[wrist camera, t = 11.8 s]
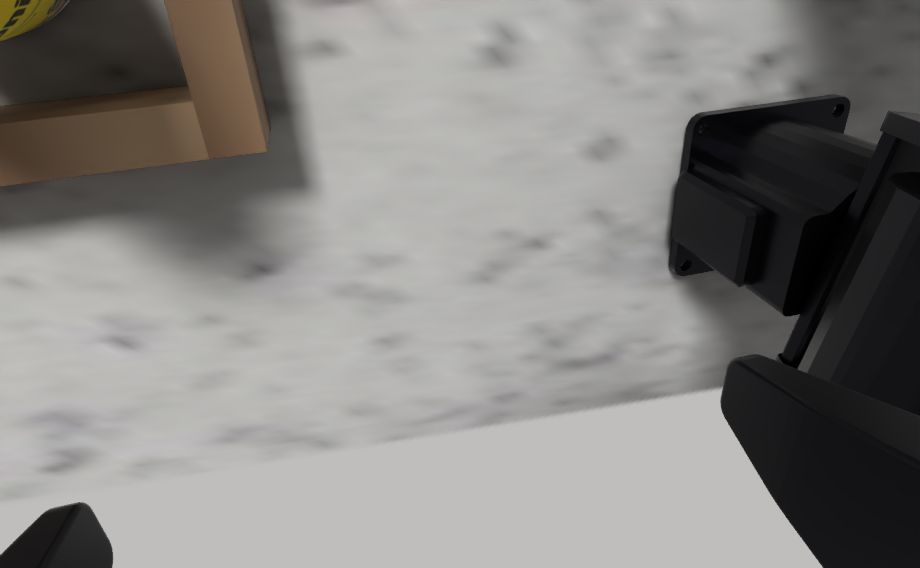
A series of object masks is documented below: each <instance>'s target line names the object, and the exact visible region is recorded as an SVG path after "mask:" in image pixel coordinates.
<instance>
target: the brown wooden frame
mask: <svg viewBox="0 0 920 568" xmlns="http://www.w3.org/2000/svg"><path fill="white" fill-rule="evenodd" d="M164 3H165V6H166V10H167V13H168V17H169V20H170V24H171V27H172V31H173V34H174V38H175V41H176V45H177V48H178V52H179V55H180V59H181V62H182V66H183V69H184V73H185V76H186V80H187V83H188V86H181V87H172V88H163V89H154V90H144V91H135V92H126V93H117V94H108V95H98V96H89V97H80V98H71V99H62V100H53V101H43V102H34V103H25V104H16V105H7V106H0V186H8V185H15V184H23V183H31V182H39V181H46V180H54V179H62V178H69V177H77V176H85V175H92V174H100V173H108V172H115V171H123V170H131V169H138V168H146V167H154V166H162V165H169V164H177V163H185V162H192V161H200V160H208V159H215V158H223V157H231V156H238V155H246V154H254V153H261V152H267V149H268V142H269V136H270V129H271V128H270V124H269V119H268V115H267V111H266V106H265V102H264V97H263V93H262V89H261V84H260V80H259V75H258V71H257V67H256V62H255V58H254V53H253V49H252V44H251V40H250V36H249V31H248V27H247V22H246V18H245V14H244V9H243V5H242V0H164Z"/></svg>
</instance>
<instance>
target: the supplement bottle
mask: <svg viewBox="0 0 920 568" xmlns="http://www.w3.org/2000/svg"><path fill="white" fill-rule="evenodd" d="M69 1H70V0H0V41H3V40H6V39H9V38H11V37H14V36H17V35H20V34H23V33H25V32H28V31H31V30H33V29H35V28H37V27H39V26H41V25H43V24H45V23H46V22H48V21H49V20H51V19H52V18H53V17H55V16H56V15H57V14H58V13H59V12H60V11H61V10H62V9H63V8H64V7H65V6H66V5H67V4H68V2H69Z"/></svg>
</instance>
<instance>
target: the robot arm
mask: <svg viewBox="0 0 920 568" xmlns="http://www.w3.org/2000/svg"><path fill="white" fill-rule="evenodd" d="M835 106H836V109H835V111H834V112H833V113H832V111H833V109H834V107H835ZM849 110H850V101H849V99H848V98H846V97H843V96H839V95H827V96H820V97H812V98H805V99H798V100H790V101H783V102H776V103H768V104H761V105H753V106H746V107H739V108H731V109H724V110H717V111H709V112H702V113H698V114H696V115H695V116H693V117H692V118H691V119H690V121H689V122H688V125H687V129H686V137H685V145H684V152H683V160H682V168H681V175H680V176H679V179H678V186H677V194H676V202H675V209H674V217H673V225H672V233H671V235H672V237H673V238H672V246H671V254H670V262H669V264H670V268H671V270H672V271H674V272H675V273H676V274H677V275H679V276H687V275H692V274H698V273H703V272H708V271H714V270H716V271H717V272H718V273H720V274H721V275H722V276H724V277H725V278H726V279H728V280H729V281H730V282H732V283H733V284H734V285H735V286H738V287H741V286H745V287H746V288H748V289H749V290H750V291H752V292H753V293H754V294H756V295H757V296H758V297H760V298H761V299H762V300H764V301H765V302H766V303H768V304H769V305H771V306H772V307H773V308H775V309H776V310H777V311H779V312H780V313H781V314H783V315H784V316H793V315H798V314H800V316H799V318H798V320H797V322H796V324H795V327H794V329H793V331H792V333H791V335H790V338H789V340H788V342H787V344H786V346H785V349H784V351H783V353H780V354H778V356H777V358H776V361H775V360H772V359H769V358H767V357H764V356H761V355H749V356H744V357H739V358H735V359H733V360H731V361H730V363H729V364H728V366H727V370H726V375H725V380H724V385H723V390H722V395H721V409H722V412H723V414H724V417H725V419H726V420H727V422H728V424H729V425H730V427H731V429H732V430H733V432H734V434H735V436H736V437H737V439H738V441H739V442H740V444H741V445H742V447H743V449H744V451H745V452H746V454H747V456H748V457H749V459H750V461H751V462H752V464H753V466H754V467H755V469H756V471H757V472H758V474H759V476H760V477H761V479H762V480H763V483H764V484H765V486H766V488H767V489H768V491H769V492H770V494H771V495H772V497H773V499H774V500H775V502H776V503H777V505H778V506H779V508H780V509H781V510H782V512H783V513H784V515H785V516H786V518H787V519H788V520H789V522H790V523H791V525H792V526H793V527H794V529H795V530H796V531H797V533H798V534H799V535H800V537H801V538H802V539H803V541H804V542H805V544H806V545H807V546H808V547H809V549H810V550H811V552H812V553H813V554H814V556H815V557H816V559H817V560H818V561H819V563H820V564H821V565H822V567H823V568H920V114H915V113H906V112H896V111H888V113H887V115H886V118H885V120H884V122H883V124H882V126H881V129H880V131H883V134H882V136H881V138H880V140H879V142H878V145H876V144H873V143H870V142H867V141H864V140H861V139H858V138H855V137H852V136H849V135H846V134H843V133H844V129H845V126H846V122H847V118H848V114H849ZM703 123H705V125H706V126H705V128H704V130H703V131H702V132H701V133H699V129H700V126H701V125H702V124H703ZM684 260H686V262H685V263H684V264H683V265H682V266H680V265H681V263H682V262H683V261H684ZM112 564H113V552H112V546H111V543H110V541H109V539H108V537H107V535H106V534H105V532H104V530H103V528H102V527H101V525H100V523H99V521H98V520H97V518H96V516H95V514H94V512H93V511H92V509H91V508H90V506H89V505H87V504H86V503H80V502H78V503H74V504H69V505H64V506H60V507H55V508H52V509H49V510H47V511H46V512H45V513H43V514H42V515H41V516H40V517H39V518H38V519H37V520H36V521H35V522H34V523H33V524H32V525H31V526H30V527H28V528H27V529H26V530H25V531H24V532H23V533H22V534H21V535H20V536H19V537H18V538H17V539H16V540H15V541H14V542H13V543H12V544H11V545H10V546H9V547H8V548H7V549H6V550H5V551H4V552H3V553H2V554H1V555H0V568H112Z"/></svg>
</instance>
